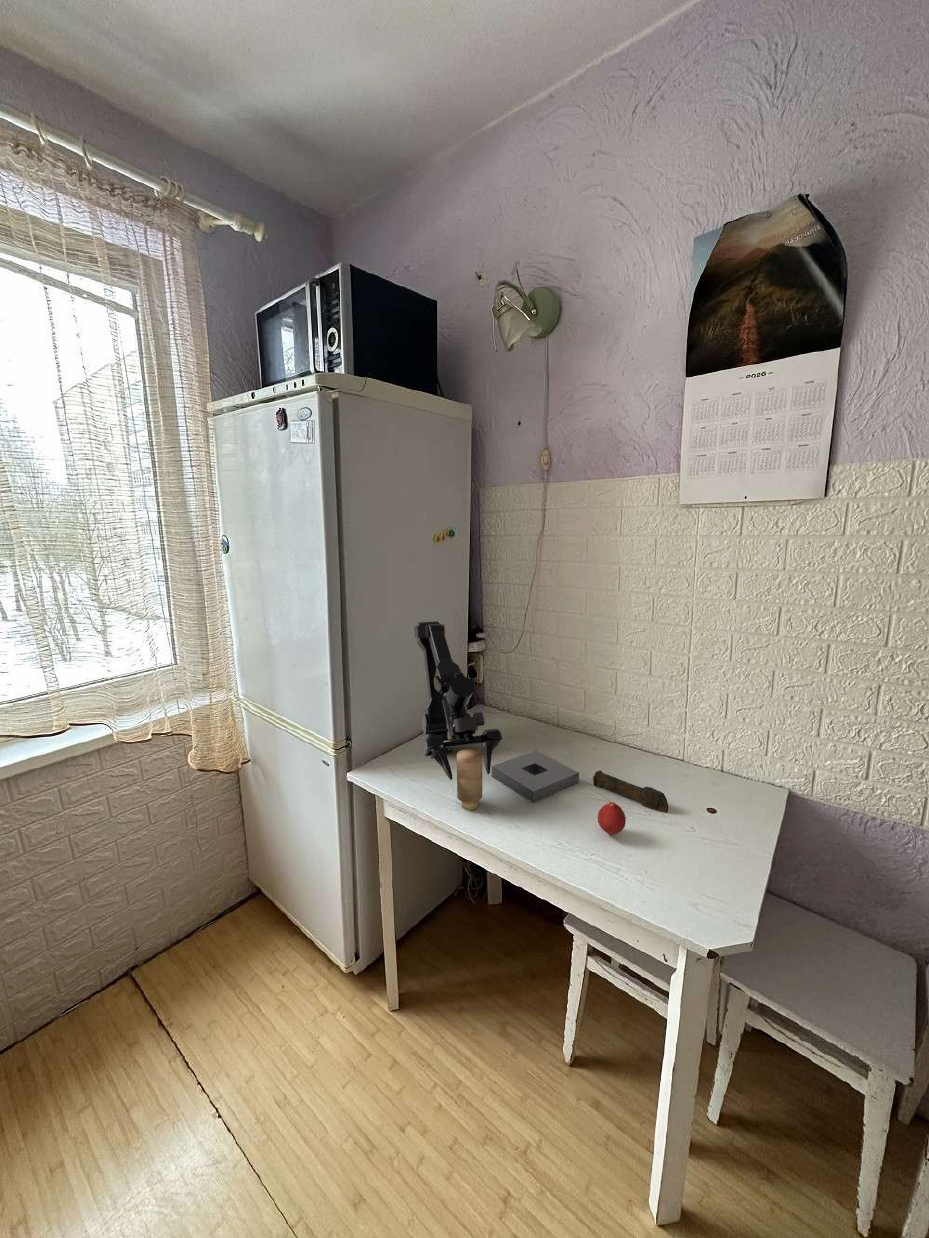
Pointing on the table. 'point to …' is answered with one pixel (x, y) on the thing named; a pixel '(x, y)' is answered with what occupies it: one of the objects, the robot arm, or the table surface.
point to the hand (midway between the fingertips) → (470, 776)
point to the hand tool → (632, 791)
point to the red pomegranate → (611, 818)
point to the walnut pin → (469, 778)
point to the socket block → (543, 784)
